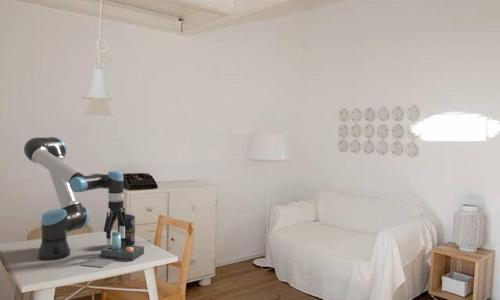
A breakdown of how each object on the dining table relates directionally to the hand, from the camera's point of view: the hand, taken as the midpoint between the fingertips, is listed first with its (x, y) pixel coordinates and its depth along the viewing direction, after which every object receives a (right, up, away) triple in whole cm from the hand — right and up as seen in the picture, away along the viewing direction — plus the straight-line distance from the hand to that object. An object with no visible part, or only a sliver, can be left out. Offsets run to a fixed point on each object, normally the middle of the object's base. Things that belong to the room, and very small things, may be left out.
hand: (115, 241), depth 213 cm
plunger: (+8, -7, -4) cm, 11 cm away
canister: (0, -7, +19) cm, 20 cm away
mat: (-5, -8, -12) cm, 15 cm away
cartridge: (0, -7, 0) cm, 7 cm away
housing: (+4, -8, 0) cm, 8 cm away
